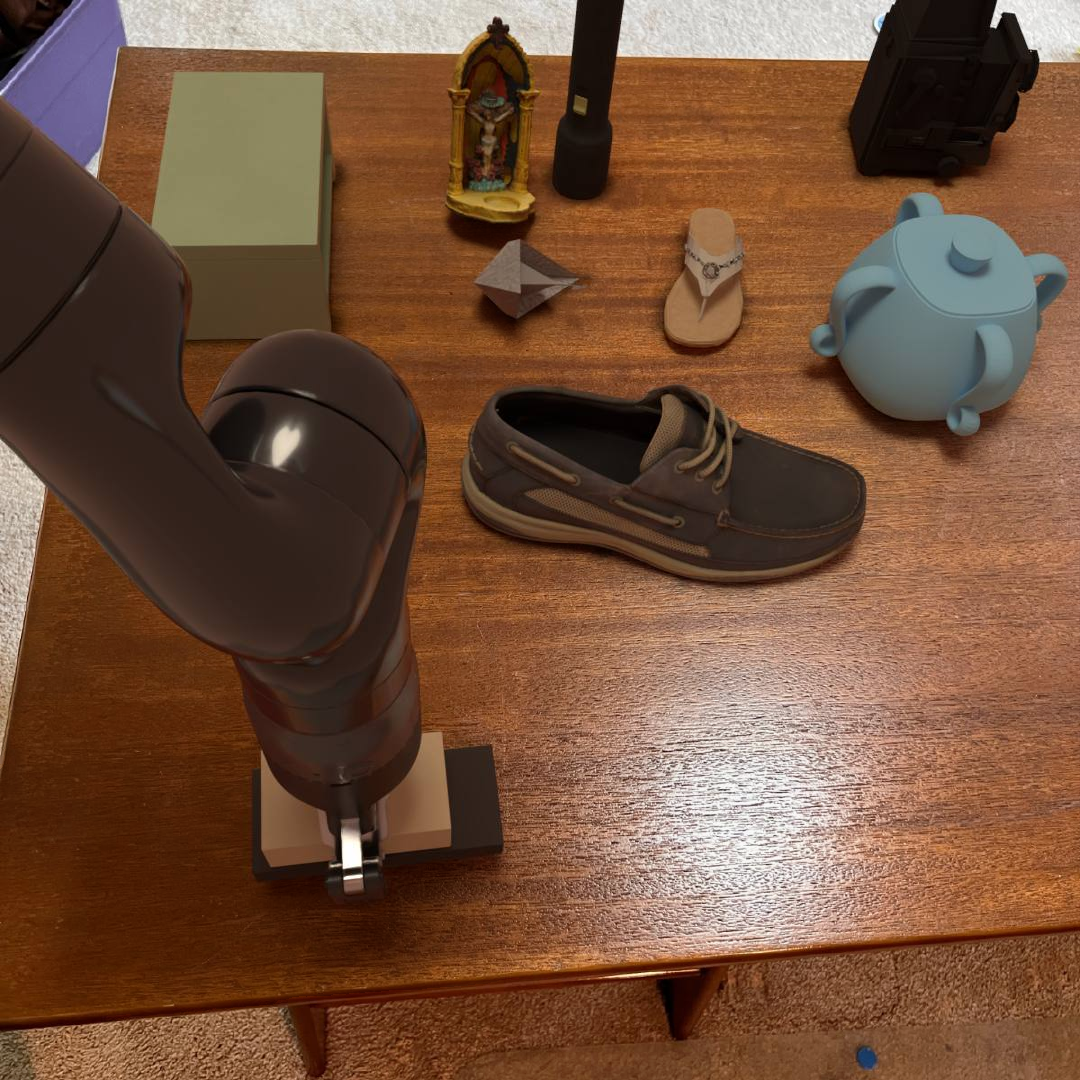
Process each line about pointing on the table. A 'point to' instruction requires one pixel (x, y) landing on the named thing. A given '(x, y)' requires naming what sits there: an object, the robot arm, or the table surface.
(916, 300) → the decorative pot
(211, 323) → the olive green lidded box
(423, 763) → the board eraser
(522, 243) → the paper boat
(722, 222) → the sandal
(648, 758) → the table surface
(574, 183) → the flashlight
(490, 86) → the shrine
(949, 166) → the camera
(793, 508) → the boat shoe
